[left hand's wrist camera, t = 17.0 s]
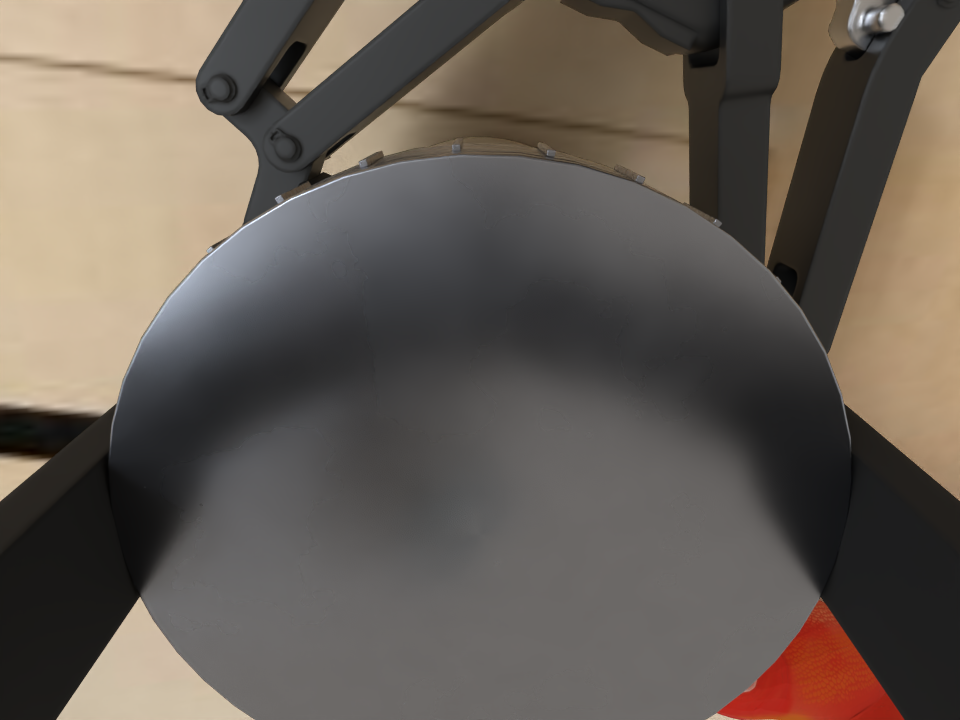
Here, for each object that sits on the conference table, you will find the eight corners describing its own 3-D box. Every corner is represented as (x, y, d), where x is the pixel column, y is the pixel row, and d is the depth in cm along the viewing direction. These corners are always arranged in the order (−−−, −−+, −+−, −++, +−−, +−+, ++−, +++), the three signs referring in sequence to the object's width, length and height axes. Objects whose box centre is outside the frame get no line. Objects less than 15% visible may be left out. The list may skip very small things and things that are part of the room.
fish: (744, 463, 22) (982, 788, 16) (989, 433, 29) (1221, 650, 23) (608, 611, 29) (739, 880, 23) (834, 558, 36) (982, 752, 30)
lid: (154, 644, 14) (99, 735, 12) (180, 57, 10) (102, 46, 8) (674, 728, 15) (704, 827, 13) (905, 226, 11) (1005, 256, 9)
